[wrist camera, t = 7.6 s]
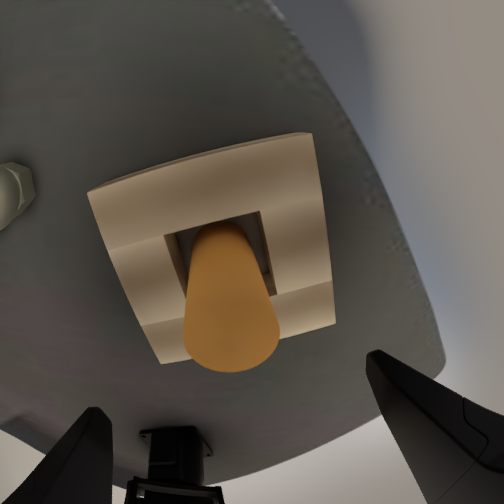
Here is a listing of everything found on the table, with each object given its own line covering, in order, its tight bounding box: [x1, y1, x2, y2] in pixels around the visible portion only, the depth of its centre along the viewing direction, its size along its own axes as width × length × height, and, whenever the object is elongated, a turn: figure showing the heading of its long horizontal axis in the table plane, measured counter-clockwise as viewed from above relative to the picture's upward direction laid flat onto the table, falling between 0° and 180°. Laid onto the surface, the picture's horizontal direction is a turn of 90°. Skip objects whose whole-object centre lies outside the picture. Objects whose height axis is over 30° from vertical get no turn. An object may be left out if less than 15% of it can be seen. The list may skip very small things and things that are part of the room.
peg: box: [182, 220, 280, 372], centre depth 15 cm, size 4×4×9 cm
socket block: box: [87, 132, 336, 364], centre depth 18 cm, size 12×12×3 cm
